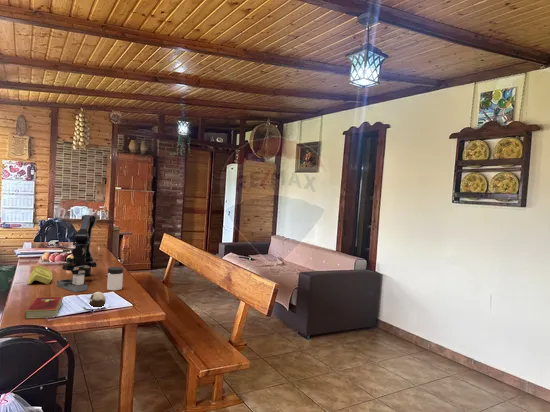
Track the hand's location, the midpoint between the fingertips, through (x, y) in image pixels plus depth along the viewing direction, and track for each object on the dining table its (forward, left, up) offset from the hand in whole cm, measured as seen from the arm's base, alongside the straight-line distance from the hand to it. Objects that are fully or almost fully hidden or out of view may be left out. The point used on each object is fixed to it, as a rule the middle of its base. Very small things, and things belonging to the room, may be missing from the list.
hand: (79, 279), depth 234 cm
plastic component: (+14, -16, -2) cm, 21 cm away
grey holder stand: (+10, +9, -1) cm, 14 cm away
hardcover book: (+40, +36, -2) cm, 54 cm away
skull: (+21, +47, -2) cm, 51 cm away
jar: (-6, +25, -2) cm, 26 cm away
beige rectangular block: (0, 0, -1) cm, 1 cm away
